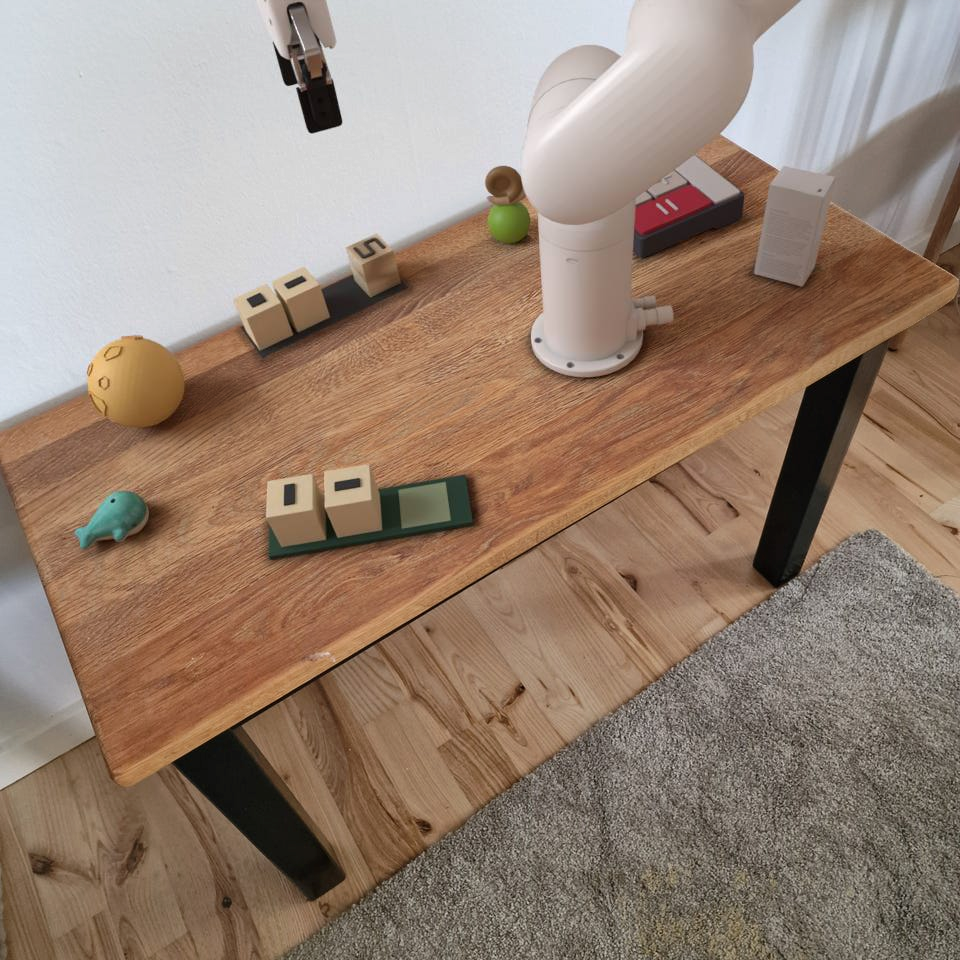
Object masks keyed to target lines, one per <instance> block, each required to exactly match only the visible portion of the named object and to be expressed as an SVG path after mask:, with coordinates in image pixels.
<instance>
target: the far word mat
mask: <svg viewBox="0 0 960 960" xmlns="http://www.w3.org/2000/svg"><path fill="white" fill-rule="evenodd" d="M400 281H401V283H400V284H398V285H396V286H394V287H391V288H389V289H387V290H385V291H383V292H381V293H379V294H377V295H375V296H373V297H369V295H368V294H367V293H366V292H365V291H364V290H363V289H362V288H361V287H360V286H359V285H358V283H357V282H356V281H355V280H354V276H353V274H351V275H348V276H347V277H344V278H342V279H340V280H338V281H336V282H333V283H332V284H329V285H328V286H325V287H323V288H321V284H320V283H319V282H318V281H317V279H316V278H314V276H313V275H312V274H311V273H310V272H309V270H308V269H307V268H306V267H305V266H302V267H300V268H298V269H295V270H293V271H292V272H289V273H287V274H285V275H283V276H280V277H278V278H276V279H274V280H272V281H271V285H272V287H273V290H274V291H273V290H272V289H271V287H270V286H269V285H268V284H267V283H265V284H263V285H261V286H259V287H257V288H254V289H252V290H250V291H247V292H245V293H243V294H240V295H239V296H237V297H234V298H232V301H233V303H234V306H235V308H236V311H237V313H238V316H239V318H240V320H241V323H242V326H240V329H241V330H242V332H243V333H244V335H245V336H246V338H247V340H249V342H250V343H251V345H252V346H253V347H254V349H255V350H256V352H257V353H258V355H259V356H260V357H261V358H262V359H264V358H265V357H268V356H270V355H272V354H274V353H277V352H278V351H281V350H283V349H285V348H286V347H289V346H291V345H292V344H293V345H294V343H297V342H299V341H301V340H303V339H305V338H308V337H309V336H311V335H313V334H315V333H318V332H320V331H322V330H324V329H326V328H328V327H331V326H332V325H334V324H336V323H338V322H340V321H343V320H346V319H347V318H349V317H351V316H352V315H355V314H357V313H359V312H361V311H363V310H365V309H367V308H369V307H371V306H374V305H375V304H378V303H380V302H382V301H384V300H386V299H389V298H390V297H393V296H394V295H396V294H398V293H401V292H402V291H404V290H406V289H408V288H409V287H408V286H407V285H406V284H405V283H404V282H403V281H402V280H401V279H400Z"/></svg>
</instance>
